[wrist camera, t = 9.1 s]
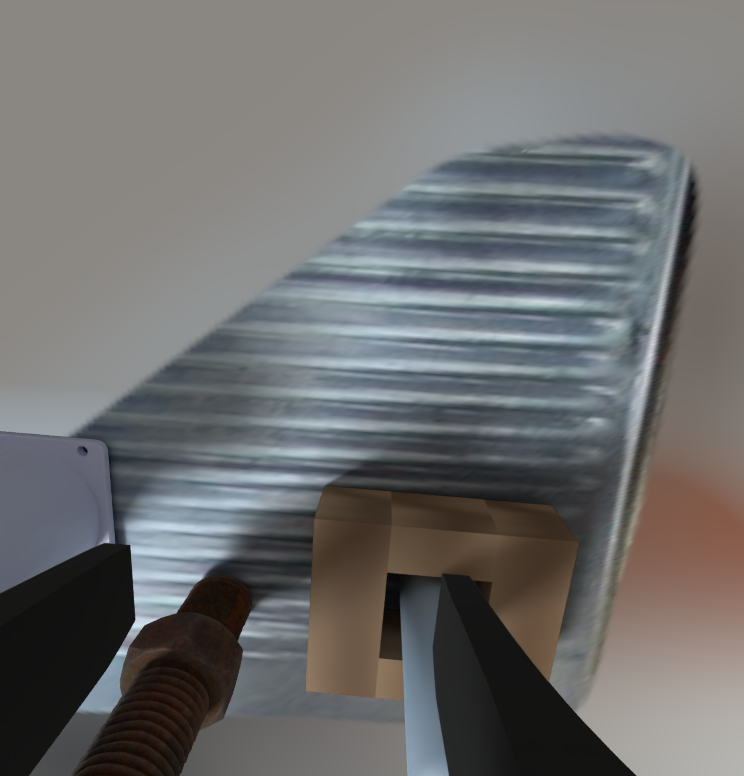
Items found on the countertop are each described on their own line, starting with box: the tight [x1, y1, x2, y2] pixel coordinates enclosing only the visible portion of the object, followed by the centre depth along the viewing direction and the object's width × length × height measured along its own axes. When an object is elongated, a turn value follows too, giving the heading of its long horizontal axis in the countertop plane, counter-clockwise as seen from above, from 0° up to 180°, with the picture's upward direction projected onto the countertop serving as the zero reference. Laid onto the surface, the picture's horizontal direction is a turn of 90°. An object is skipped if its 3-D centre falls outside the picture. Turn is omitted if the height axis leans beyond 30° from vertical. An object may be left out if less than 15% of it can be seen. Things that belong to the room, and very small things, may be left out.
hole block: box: [306, 486, 579, 701], centre depth 20 cm, size 11×9×3 cm
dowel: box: [399, 574, 449, 776], centre depth 16 cm, size 3×3×10 cm
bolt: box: [71, 576, 252, 776], centre depth 15 cm, size 6×5×15 cm
